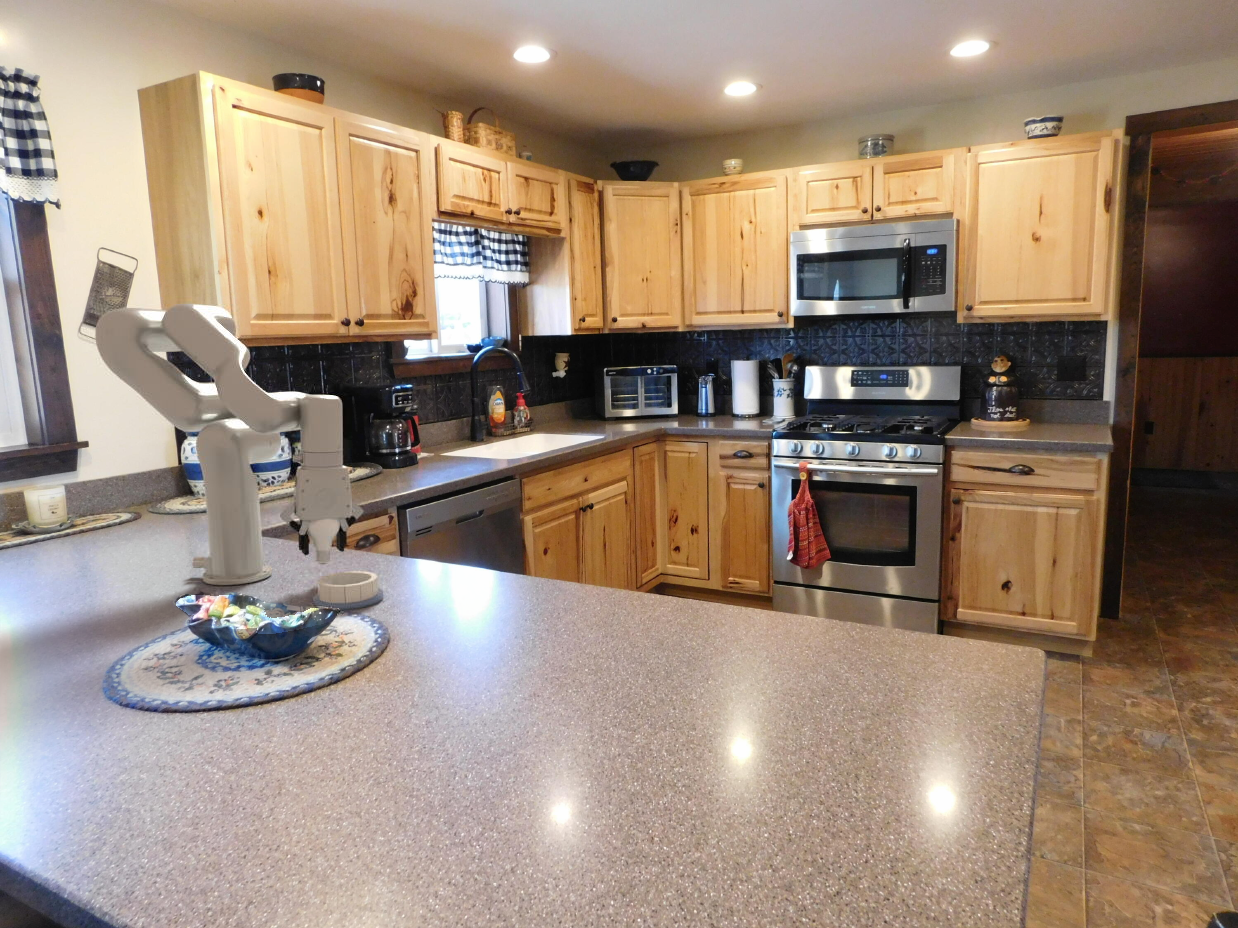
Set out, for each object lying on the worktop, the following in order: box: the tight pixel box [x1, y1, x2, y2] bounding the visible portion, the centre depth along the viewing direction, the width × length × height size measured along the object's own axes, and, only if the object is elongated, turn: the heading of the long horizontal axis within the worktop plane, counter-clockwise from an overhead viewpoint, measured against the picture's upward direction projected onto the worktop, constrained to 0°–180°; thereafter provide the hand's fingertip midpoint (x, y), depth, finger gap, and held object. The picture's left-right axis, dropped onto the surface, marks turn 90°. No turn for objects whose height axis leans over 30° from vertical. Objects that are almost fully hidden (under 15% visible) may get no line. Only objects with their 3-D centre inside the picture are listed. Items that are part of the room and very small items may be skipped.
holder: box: [312, 570, 384, 611], centre depth 147 cm, size 12×12×4 cm
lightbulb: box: [307, 519, 340, 565], centre depth 157 cm, size 6×6×11 cm
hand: (323, 550), depth 158 cm, fingers closed on lightbulb, 5 cm apart
